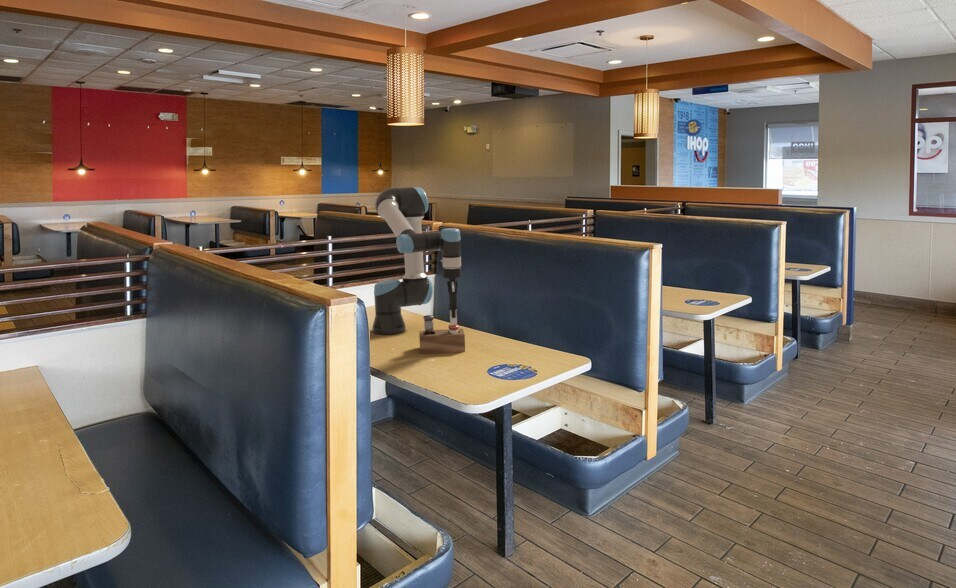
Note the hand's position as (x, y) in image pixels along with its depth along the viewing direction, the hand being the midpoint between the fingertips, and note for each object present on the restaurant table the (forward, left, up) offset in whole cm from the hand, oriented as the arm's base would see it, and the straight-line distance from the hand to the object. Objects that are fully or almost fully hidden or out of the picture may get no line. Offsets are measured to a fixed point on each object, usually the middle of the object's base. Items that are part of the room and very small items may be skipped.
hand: (453, 324), depth 264 cm
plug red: (0, 0, -8) cm, 8 cm away
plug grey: (0, -10, -4) cm, 11 cm away
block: (0, -5, -10) cm, 11 cm away
